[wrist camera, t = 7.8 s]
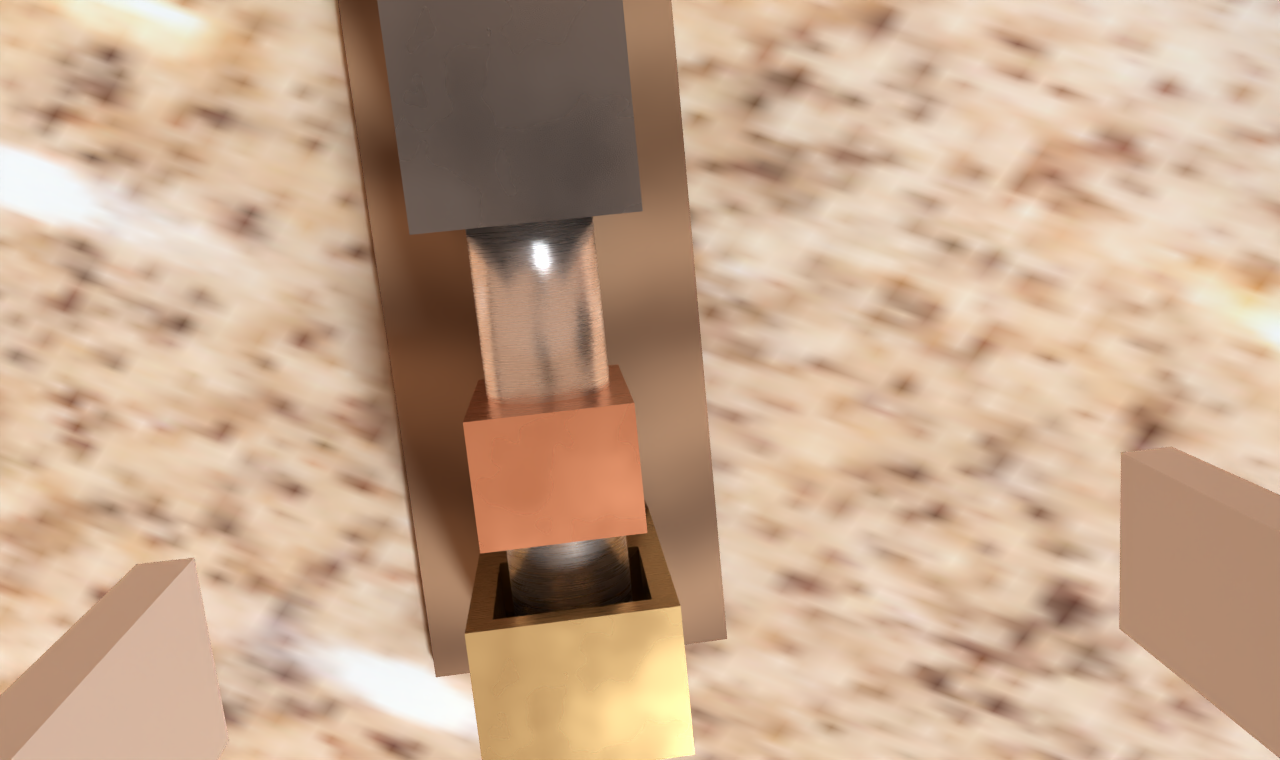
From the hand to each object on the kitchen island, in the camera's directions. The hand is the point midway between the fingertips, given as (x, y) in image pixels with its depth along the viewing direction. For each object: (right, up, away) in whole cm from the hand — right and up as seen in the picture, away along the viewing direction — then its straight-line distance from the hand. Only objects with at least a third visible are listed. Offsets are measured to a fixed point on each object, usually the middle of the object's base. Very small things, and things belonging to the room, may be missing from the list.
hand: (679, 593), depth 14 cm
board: (-4, +5, +26) cm, 27 cm away
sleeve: (-5, +14, +24) cm, 28 cm away
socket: (-3, -5, +28) cm, 28 cm away
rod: (-4, +3, +22) cm, 23 cm away
